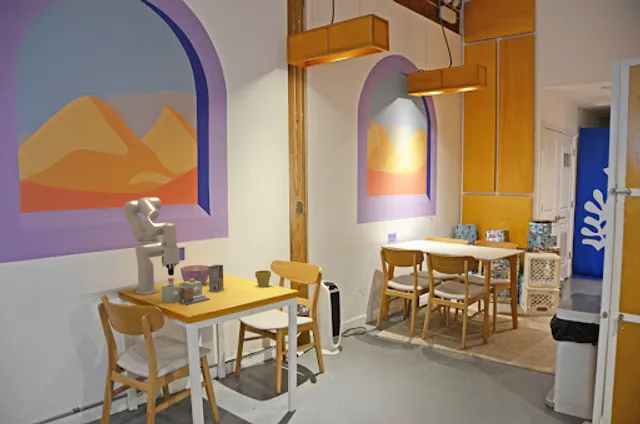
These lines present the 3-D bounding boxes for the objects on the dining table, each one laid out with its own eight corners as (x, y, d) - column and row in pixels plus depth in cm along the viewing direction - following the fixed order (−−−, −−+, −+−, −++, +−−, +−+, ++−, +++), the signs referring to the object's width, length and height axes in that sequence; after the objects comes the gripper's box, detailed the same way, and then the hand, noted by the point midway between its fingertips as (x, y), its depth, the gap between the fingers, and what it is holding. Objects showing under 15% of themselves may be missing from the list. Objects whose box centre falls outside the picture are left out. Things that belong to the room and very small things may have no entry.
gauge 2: (188, 289, 321) (188, 279, 320) (193, 288, 324) (192, 278, 323) (191, 290, 319) (191, 279, 318) (196, 289, 321) (196, 278, 321)
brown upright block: (180, 300, 305) (179, 287, 305) (187, 299, 309) (186, 286, 308) (186, 302, 301) (185, 289, 301) (193, 300, 305) (192, 287, 304)
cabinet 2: (183, 296, 321) (182, 282, 320) (194, 294, 327) (193, 280, 326) (191, 298, 316) (191, 284, 315) (202, 296, 322) (201, 282, 321)
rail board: (177, 302, 306) (177, 298, 306) (200, 297, 318) (200, 293, 318) (186, 305, 300) (186, 300, 300) (209, 299, 312) (209, 295, 312)
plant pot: (253, 287, 344) (253, 273, 343) (258, 284, 354) (257, 270, 354) (268, 288, 342) (268, 273, 342) (272, 284, 353) (272, 270, 352)
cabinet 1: (161, 301, 310) (161, 286, 309) (173, 298, 316) (173, 284, 315) (169, 303, 304) (169, 288, 304) (181, 300, 310) (181, 286, 310)
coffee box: (214, 288, 342) (214, 264, 340) (223, 289, 340) (223, 264, 339) (208, 291, 333) (208, 267, 331) (218, 292, 331) (217, 267, 330)
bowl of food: (174, 285, 351) (173, 268, 350) (195, 280, 368) (195, 264, 367) (195, 289, 340) (195, 271, 340) (216, 283, 357) (216, 266, 357)
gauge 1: (167, 290, 309) (166, 278, 309) (172, 289, 312) (171, 277, 311) (170, 291, 307) (170, 279, 307) (175, 290, 310) (175, 278, 309)
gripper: (162, 246, 299) (163, 277, 301) (184, 243, 311) (185, 273, 312) (155, 245, 304) (156, 276, 306) (177, 242, 315) (178, 272, 317)
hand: (171, 275), depth 309 cm, fingers closed
